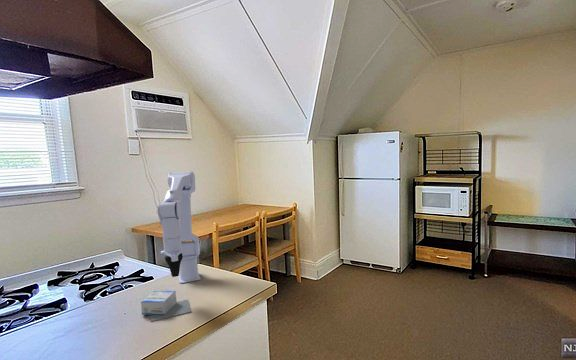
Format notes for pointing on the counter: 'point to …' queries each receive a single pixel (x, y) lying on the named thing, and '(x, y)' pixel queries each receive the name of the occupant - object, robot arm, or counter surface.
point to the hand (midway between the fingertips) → (175, 275)
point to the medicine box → (158, 302)
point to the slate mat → (173, 311)
